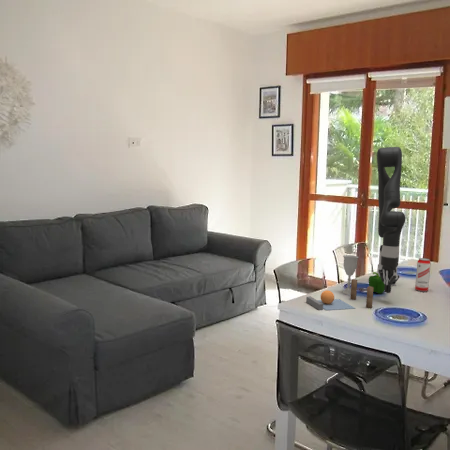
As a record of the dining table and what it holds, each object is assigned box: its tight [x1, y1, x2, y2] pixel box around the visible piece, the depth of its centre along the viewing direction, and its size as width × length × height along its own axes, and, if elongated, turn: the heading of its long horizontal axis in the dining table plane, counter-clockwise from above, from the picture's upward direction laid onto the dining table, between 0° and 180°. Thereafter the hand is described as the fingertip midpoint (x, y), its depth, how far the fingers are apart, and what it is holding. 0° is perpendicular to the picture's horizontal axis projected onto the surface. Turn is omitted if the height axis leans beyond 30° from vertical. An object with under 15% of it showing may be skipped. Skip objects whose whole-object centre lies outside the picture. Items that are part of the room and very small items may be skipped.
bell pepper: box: [368, 271, 385, 294], centre depth 242 cm, size 8×8×10 cm
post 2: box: [365, 285, 374, 309], centre depth 216 cm, size 3×3×9 cm
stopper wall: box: [305, 296, 324, 311], centre depth 217 cm, size 12×2×2 cm, turn 16°
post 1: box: [349, 278, 358, 301], centre depth 229 cm, size 3×3×9 cm
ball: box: [320, 289, 335, 304], centre depth 220 cm, size 6×6×6 cm
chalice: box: [342, 254, 360, 296], centre depth 238 cm, size 7×7×18 cm
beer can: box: [414, 257, 431, 293], centre depth 248 cm, size 6×6×16 cm
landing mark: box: [316, 298, 356, 311], centre depth 219 cm, size 14×14×1 cm
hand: (387, 292), depth 227 cm, fingers closed
